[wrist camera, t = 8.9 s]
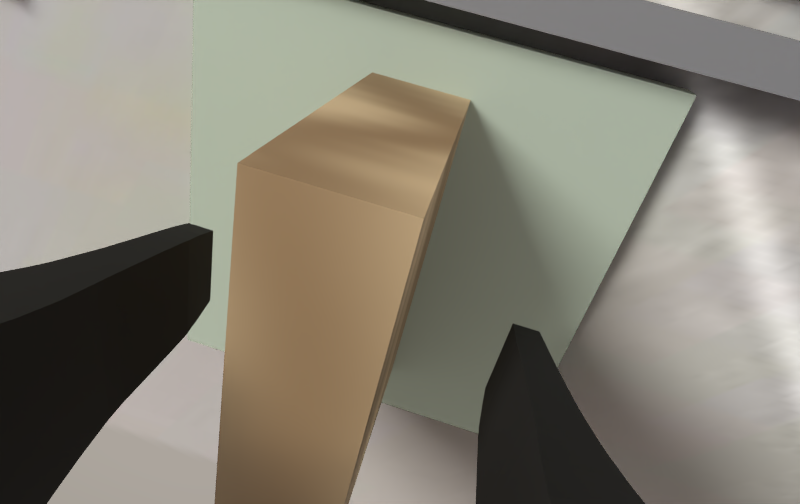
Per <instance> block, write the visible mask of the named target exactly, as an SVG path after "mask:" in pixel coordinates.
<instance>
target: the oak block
mask: <svg viewBox="0 0 800 504" xmlns="http://www.w3.org/2000/svg"><path fill="white" fill-rule="evenodd" d="M470 101H471V100H469V99H466V98H462V97H458V96H455V95H451V94H448V93H444V92H441V91H437V90H433V89H430V88H426V87H423V86H419V85H416V84H412V83H409V82H405V81H401V80H398V79H394V78H391V77H387V76H384V75H380V74H376V73H373V72H372V73H370V74H369V75H367V76H366V77H365V78H363V79H362V80H360V81H359V82H357V83H356V84H354V85H353V86H351V87H350V88H348V89H347V90H345V91H344V92H342V93H341V94H339V95H338V96H336V97H335V98H333V99H332V100H330V101H329V102H327V103H326V104H324V105H323V106H321V107H320V108H318V109H317V110H315V111H314V112H312V113H311V114H309V115H308V116H307V117H305V118H304V119H302V120H301V121H299V122H298V123H296V124H295V125H293V126H292V127H290V128H289V129H287V130H286V131H284V132H283V133H281V134H280V135H278V136H277V137H275V138H274V139H272V140H271V141H269V142H268V143H266V144H265V145H263V146H262V147H260V148H259V149H257V150H256V151H254V152H253V153H251V154H250V155H249V156H247V157H246V158H244V159H243V160H241V161H240V162H238V163H237V176H236V191H235V206H234V221H233V236H232V251H231V266H230V281H229V296H228V311H227V326H226V341H225V356H224V371H223V386H222V401H221V416H220V431H219V446H218V461H217V476H216V492H215V504H348V503H349V500H350V497H351V494H352V491H353V488H354V485H355V482H356V479H357V476H358V473H359V469H360V466H361V463H362V460H363V457H364V454H365V451H366V448H367V445H368V442H369V439H370V436H371V433H372V429H373V426H374V423H375V420H376V417H377V414H378V411H379V408H380V405H381V402H382V399H383V396H384V393H385V389H386V386H387V383H388V380H389V377H390V374H391V371H392V368H393V364H394V361H395V358H396V354H397V351H398V347H399V344H400V340H401V337H402V334H403V330H404V327H405V323H406V320H407V316H408V313H409V310H410V306H411V303H412V299H413V296H414V292H415V289H416V286H417V282H418V279H419V275H420V272H421V268H422V265H423V262H424V258H425V255H426V251H427V248H428V244H429V241H430V238H431V234H432V231H433V227H434V224H435V220H436V217H437V214H438V210H439V207H440V203H441V200H442V196H443V193H444V190H445V186H446V183H447V179H448V176H449V173H450V169H451V166H452V162H453V159H454V155H455V152H456V149H457V145H458V142H459V138H460V135H461V131H462V128H463V125H464V121H465V118H466V114H467V111H468V107H469V104H470Z"/></svg>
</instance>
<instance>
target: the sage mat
mask: <svg viewBox="0 0 800 504" xmlns="http://www.w3.org/2000/svg"><path fill="white" fill-rule="evenodd" d="M372 72H373V73H376V74H380V75H384V76H387V77H391V78H394V79H398V80H401V81H405V82H409V83H412V84H416V85H419V86H423V87H426V88H430V89H433V90H437V91H441V92H444V93H448V94H451V95H455V96H458V97H462V98H466V99H469V100H471V101H470V104H469V107H468V111H467V114H466V118H465V121H464V125H463V128H462V131H461V135H460V138H459V142H458V145H457V149H456V152H455V155H454V159H453V162H452V166H451V169H450V173H449V176H448V179H447V183H446V186H445V190H444V193H443V196H442V200H441V203H440V207H439V210H438V214H437V217H436V220H435V224H434V227H433V231H432V234H431V238H430V241H429V244H428V248H427V251H426V255H425V258H424V262H423V265H422V268H421V272H420V275H419V279H418V282H417V286H416V289H415V292H414V296H413V299H412V303H411V306H410V310H409V313H408V316H407V320H406V323H405V327H404V330H403V334H402V337H401V340H400V344H399V347H398V351H397V354H396V358H395V361H394V364H393V368H392V371H391V374H390V377H389V380H388V383H387V386H386V389H385V393H384V396H383V399H382V402H381V403H385V404H388V405H391V406H394V407H397V408H400V409H403V410H406V411H409V412H412V413H415V414H418V415H422V416H425V417H428V418H431V419H434V420H437V421H440V422H443V423H446V424H449V425H452V426H455V427H459V428H462V429H465V430H468V431H471V432H474V433H477V434H478V432H479V423H480V416H481V410H482V404H483V398H484V392H485V387H486V385H487V383H488V380H489V378H490V376H491V373H492V371H493V369H494V366H495V364H496V362H497V359H498V357H499V355H500V352H501V350H502V347H503V345H504V343H505V340H506V338H507V336H508V333H509V331H510V329H511V326H512V324H513V323H514V324H517V325H520V326H523V327H526V328H530V329H533V330H536V331H539V332H540V334H541V336H542V338H543V340H544V342H545V344H546V346H547V348H548V350H549V352H550V354H551V356H552V358H553V360H554V362H555V364H556V366H557V368H558V366H559V364H560V362H561V360H562V358H563V356H564V354H565V352H566V350H567V348H568V346H569V344H570V342H571V340H572V338H573V336H574V334H575V332H576V330H577V328H578V327H579V325H580V323H581V321H582V319H583V317H584V315H585V313H586V311H587V309H588V307H589V305H590V303H591V301H592V299H593V297H594V295H595V293H596V291H597V289H598V287H599V285H600V284H601V282H602V280H603V278H604V276H605V274H606V272H607V270H608V268H609V266H610V264H611V262H612V260H613V258H614V256H615V254H616V252H617V250H618V248H619V246H620V244H621V242H622V241H623V239H624V237H625V235H626V233H627V231H628V229H629V227H630V225H631V223H632V221H633V219H634V217H635V215H636V213H637V211H638V209H639V207H640V205H641V203H642V201H643V199H644V198H645V196H646V194H647V192H648V190H649V188H650V186H651V184H652V182H653V180H654V178H655V176H656V174H657V172H658V170H659V168H660V166H661V164H662V162H663V160H664V158H665V156H666V155H667V153H668V151H669V149H670V147H671V145H672V143H673V141H674V139H675V137H676V135H677V133H678V131H679V129H680V127H681V125H682V123H683V121H684V119H685V117H686V115H687V114H688V112H689V110H690V108H691V106H692V104H693V102H694V100H695V98H696V96H697V95H695V94H694V93H693V92H691V91H690V90H687V89H683V88H680V87H676V86H672V85H669V84H665V83H661V82H657V81H654V80H650V79H646V78H643V77H639V76H635V75H632V74H628V73H624V72H621V71H617V70H613V69H609V68H606V67H602V66H598V65H595V64H591V63H587V62H584V61H580V60H576V59H573V58H569V57H565V56H561V55H558V54H554V53H550V52H547V51H543V50H539V49H536V48H532V47H528V46H525V45H521V44H517V43H513V42H510V41H506V40H502V39H499V38H495V37H491V36H488V35H484V34H480V33H477V32H473V31H469V30H465V29H462V28H458V27H454V26H451V25H447V24H443V23H440V22H436V21H432V20H429V19H425V18H421V17H418V16H414V15H410V14H406V13H403V12H399V11H395V10H392V9H388V8H384V7H381V6H377V5H373V4H370V3H366V2H362V1H358V0H193V57H192V114H191V172H190V224H193V225H197V226H200V227H203V228H206V229H210V230H213V250H212V273H211V295H210V302H209V303H208V305H207V306H206V307H205V309H204V310H203V312H202V313H201V315H200V316H199V318H198V319H197V321H196V322H195V323H194V325H193V326H192V328H191V329H190V330H189V332H188V340H190V341H193V342H196V343H200V344H203V345H206V346H209V347H212V348H215V349H218V350H221V351H224V352H225V341H226V326H227V311H228V296H229V281H230V266H231V251H232V236H233V221H234V206H235V191H236V176H237V163H238V162H240V161H241V160H243V159H244V158H246V157H247V156H249V155H250V154H251V153H253V152H254V151H256V150H257V149H259V148H260V147H262V146H263V145H265V144H266V143H268V142H269V141H271V140H272V139H274V138H275V137H277V136H278V135H280V134H281V133H283V132H284V131H286V130H287V129H289V128H290V127H292V126H293V125H295V124H296V123H298V122H299V121H301V120H302V119H304V118H305V117H307V116H308V115H309V114H311V113H312V112H314V111H315V110H317V109H318V108H320V107H321V106H323V105H324V104H326V103H327V102H329V101H330V100H332V99H333V98H335V97H336V96H338V95H339V94H341V93H342V92H344V91H345V90H347V89H348V88H350V87H351V86H353V85H354V84H356V83H357V82H359V81H360V80H362V79H363V78H365V77H366V76H367V75H369V74H370V73H372Z"/></svg>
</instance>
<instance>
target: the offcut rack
mask: <svg viewBox="0 0 800 504" xmlns="http://www.w3.org/2000/svg"><path fill="white" fill-rule="evenodd" d="M426 1H430V2H433V3H437V4H441V5H445V6H448V7H452V8H456V9H459V10H463V11H467V12H471V13H474V14H478V15H482V16H486V17H489V18H493V19H497V20H500V21H504V22H508V23H512V24H515V25H519V26H523V27H527V28H530V29H534V30H538V31H541V32H545V33H549V34H553V35H556V36H560V37H564V38H568V39H571V40H575V41H579V42H582V43H586V44H590V45H594V46H597V47H601V48H605V49H608V50H612V51H616V52H620V53H623V54H627V55H631V56H635V57H638V58H642V59H646V60H649V61H653V62H657V63H661V64H664V65H668V66H672V67H676V68H679V69H683V70H687V71H690V72H694V73H698V74H702V75H705V76H709V77H713V78H717V79H720V80H724V81H728V82H731V83H735V84H739V85H743V86H746V87H750V88H754V89H758V90H761V91H765V92H769V93H772V94H776V95H780V96H784V97H787V98H791V99H795V100H798V101H800V41H798V40H795V39H791V38H787V37H783V36H779V35H775V34H772V33H768V32H764V31H760V30H756V29H752V28H749V27H745V26H741V25H737V24H733V23H729V22H725V21H722V20H718V19H714V18H710V17H706V16H702V15H699V14H695V13H691V12H687V11H683V10H679V9H676V8H672V7H668V6H664V5H660V4H656V3H653V2H649V1H645V0H426Z"/></svg>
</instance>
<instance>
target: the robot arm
mask: <svg viewBox="0 0 800 504" xmlns="http://www.w3.org/2000/svg"><path fill="white" fill-rule="evenodd" d="M212 250H213V230H210V229H206V228H203V227H200V226H197V225H193V224H190V223H188V224H183V225H179V226H175V227H172V228H168V229H165V230H161V231H158V232H155V233H151V234H148V235H145V236H141V237H138V238H135V239H132V240H128V241H125V242H122V243H118V244H115V245H112V246H108V247H105V248H102V249H98V250H94V251H90V252H87V253H83V254H79V255H75V256H72V257H68V258H64V259H60V260H56V261H53V262H48V263H44V264H40V265H35V266H30V267H26V268H20V269H15V270H10V271H4V272H0V504H47V502H48V501H49V500H50V498H51V497H52V495H53V494H54V492H55V491H56V490H57V488H58V487H59V485H60V484H61V483H62V481H63V480H64V478H65V477H66V476H67V474H68V473H69V472H70V470H71V469H72V467H73V466H74V465H75V463H76V462H77V460H78V459H79V457H80V456H81V455H82V454H83V452H84V451H85V450H86V448H87V447H88V446H89V444H90V443H91V442H92V440H93V439H94V438H95V436H96V435H97V434H98V432H99V431H100V430H101V429H102V427H103V426H104V425H105V423H106V422H107V421H108V419H109V418H110V417H111V416H112V415H113V414H114V412H115V411H116V410H117V409H118V408H119V407H120V405H121V404H122V403H123V402H124V401H125V400H126V399H127V398H128V397H129V396H130V395H131V394H132V392H133V391H134V390H135V389H136V388H137V387H138V386H139V385H140V384H141V383H142V382H143V381H144V380H145V379H146V378H147V376H148V375H149V374H150V373H151V372H152V371H153V370H154V369H155V368H156V367H157V366H158V365H159V364H160V363H161V362H162V360H163V359H164V358H165V357H166V356H167V355H168V354H169V353H170V352H171V351H172V350H173V349H174V348H175V346H176V345H177V344H178V343H179V342H180V341H181V340H182V339H183V338H184V337H185V335H186V334H187V333H188V332H189V330H190V329H191V328H192V326H193V325H194V323H195V322H196V321H197V319H198V318H199V316H200V315H201V313H202V312H203V310H204V309H205V307H206V306H207V305H208V303H209V302H210V295H211V273H212ZM476 504H645V503H644V502H643V500H642V499H641V498H640V497H639V495H638V494H637V493H636V492H635V490H634V489H633V488H632V487H631V485H630V484H629V483H628V481H627V480H626V479H625V477H624V476H623V475H622V473H621V472H620V471H619V469H618V468H617V466H616V465H615V464H614V462H613V461H612V460H611V458H610V457H609V456H608V454H607V453H606V451H605V450H604V448H603V447H602V445H601V444H600V442H599V441H598V439H597V438H596V436H595V434H594V433H593V431H592V430H591V428H590V426H589V425H588V423H587V422H586V420H585V418H584V417H583V415H582V413H581V412H580V410H579V408H578V406H577V405H576V403H575V401H574V399H573V397H572V395H571V394H570V392H569V390H568V388H567V386H566V384H565V382H564V380H563V378H562V376H561V374H560V372H559V370H558V368H557V366H556V364H555V362H554V360H553V358H552V356H551V354H550V352H549V350H548V348H547V346H546V344H545V342H544V340H543V338H542V336H541V334H540V332H539V331H536V330H533V329H530V328H526V327H523V326H520V325H517V324H514V323H513V324H512V326H511V329H510V331H509V333H508V336H507V338H506V340H505V343H504V345H503V347H502V350H501V352H500V355H499V357H498V359H497V362H496V364H495V366H494V369H493V371H492V373H491V376H490V378H489V380H488V383H487V385H486V387H485V392H484V398H483V404H482V410H481V416H480V423H479V432H478V457H477V486H476Z"/></svg>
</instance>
